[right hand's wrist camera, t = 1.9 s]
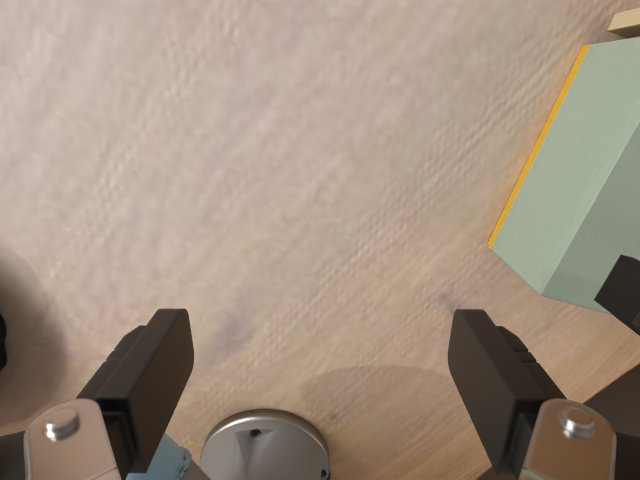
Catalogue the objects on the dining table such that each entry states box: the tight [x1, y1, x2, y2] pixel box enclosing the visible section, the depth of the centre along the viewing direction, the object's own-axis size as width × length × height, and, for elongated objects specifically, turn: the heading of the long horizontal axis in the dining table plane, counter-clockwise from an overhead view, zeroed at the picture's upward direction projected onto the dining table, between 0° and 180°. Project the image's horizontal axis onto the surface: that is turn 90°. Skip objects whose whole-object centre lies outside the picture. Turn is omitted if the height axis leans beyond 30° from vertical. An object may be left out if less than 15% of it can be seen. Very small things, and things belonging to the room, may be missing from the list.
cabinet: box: [487, 37, 640, 315], centre depth 30 cm, size 18×11×10 cm, turn 164°
